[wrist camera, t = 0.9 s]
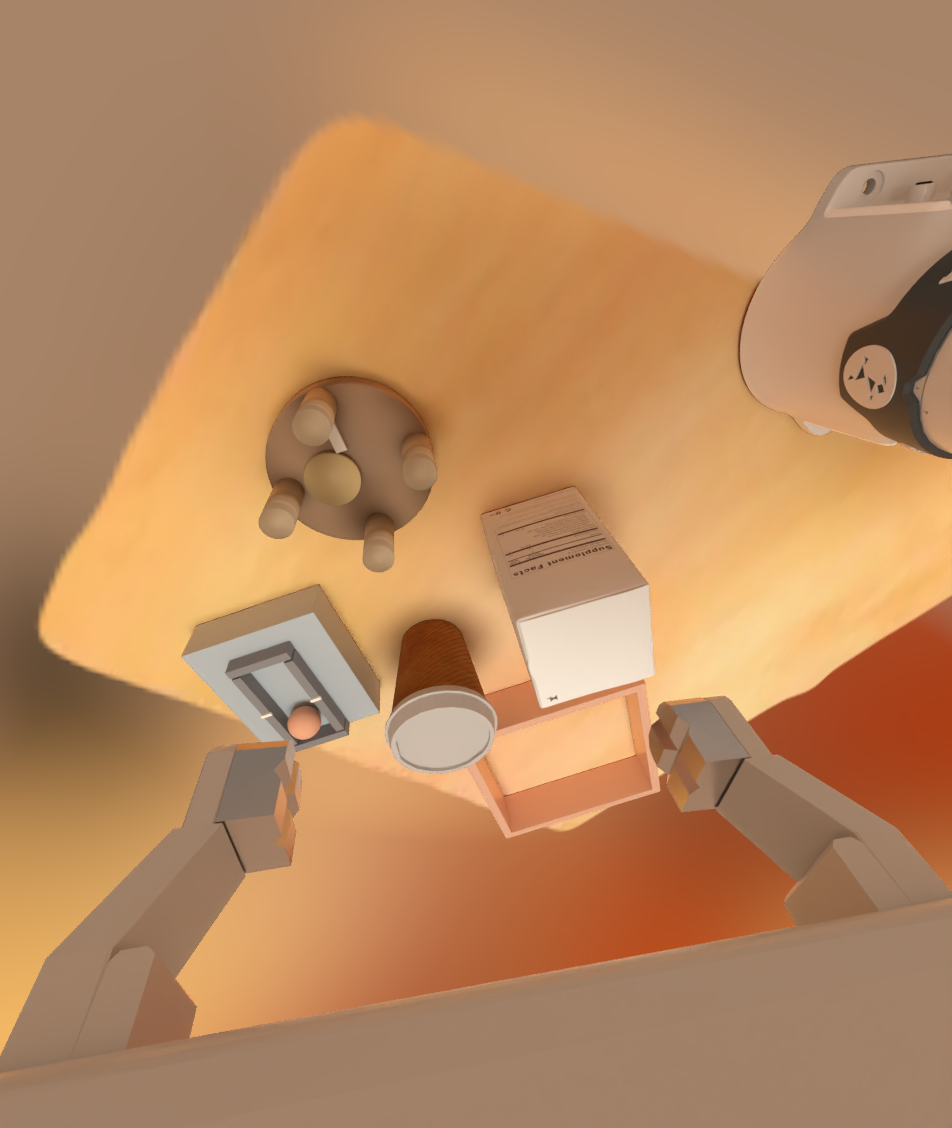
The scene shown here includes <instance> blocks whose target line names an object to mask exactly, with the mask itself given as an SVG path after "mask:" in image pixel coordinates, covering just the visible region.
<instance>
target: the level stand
mask: <svg viewBox="0 0 952 1128" xmlns="http://www.w3.org/2000/svg"><path fill="white" fill-rule="evenodd" d="M181 657H182V658H183V659H184V660H185V661H186V662H187V664H188V665H189V666H190V667H191V668H192V669H193V670H194V671H195V672H196V673H197V674H198V675H199V676H200V677H201V678H202V679H203V681H204V682H205V683H206V684H207V685H208V686H209V687H210V688H211V689H212V690H213V691H214V692H215V693H216V694H217V695H218V696H219V698H220V699H221V700H222V701H223V702H224V703H225V704H226V705H227V706H228V707H229V708H230V709H231V710H232V711H233V712H234V713H235V715H236V716H237V717H238V718H239V719H240V720H241V721H242V722H243V723H244V724H245V725H246V726H247V727H248V728H249V729H250V730H251V731H252V733H253V734H254V735H255V736H256V737H257V738H258V739H259V740H260V741H261V742H271V741H284V740H293V743H294V746H295V752H298V751H301V750H304V749H307V748H310V747H313V746H316V745H319V744H322V743H326V742H329V741H332V740H335V739H338V738H341V737H344V736H347V735H349V724H350V722H353V721H356V720H359V719H362V718H365V717H368V716H371V715H374V714H377V713H380V682H379V680H378V679H377V677H376V675H375V674H374V672H373V671H372V669H371V667H370V666H369V664H368V662H367V661H366V659H365V658H364V656H363V654H362V653H361V651H360V650H359V648H358V646H357V645H356V643H355V642H354V640H353V638H352V637H351V635H350V634H349V632H348V630H347V629H346V627H345V626H344V624H343V622H342V621H341V619H340V618H339V616H338V614H337V613H336V611H335V610H334V608H333V606H332V605H331V603H330V602H329V600H328V598H327V597H326V595H325V594H324V592H323V590H322V589H321V587H320V585H316V586H313V587H310V588H307V589H304V590H301V591H298V592H295V593H292V594H289V595H286V596H283V597H280V598H277V599H274V600H271V601H268V602H265V603H262V604H259V605H257V606H254V607H251V608H248V609H245V610H242V611H239V612H236V613H233V614H230V615H227V616H224V617H221V618H218V619H215V620H212V621H209V622H206V623H203V624H200V625H197V626H196V627H195V630H194V632H193V634H192V636H191V638H190V640H189V642H188V644H187V646H186V648H185V650H184V652H183V654H182V656H181ZM302 706H310V707H313V708H315V709H316V710H317V711H318V712H319V714H320V716H321V726H320V729H319V731H318V732H317V733H316V734H315V735H314V736H313V737H311V738H309V739H305V740H301V739H297V738H295V737H293V736H292V735H291V734H290V732H289V730H288V725H287V723H288V719H289V716H290V715H291V713H292V712H293V711H294V710H295V709H297V708H299V707H302Z"/></svg>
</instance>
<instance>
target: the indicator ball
mask: <svg viewBox="0 0 952 1128" xmlns="http://www.w3.org/2000/svg"><path fill="white" fill-rule="evenodd" d="M287 725H288V730H289V732H290V734H291V735H292V736H293V737H295V738H297V739H301V740H305V739H309V738H311V737H313V736H314V735H315V734H316V733H317V732H318V731H319V729H320V726H321V716H320V714H319V712H318V711H317V710H316V709H315V708H313V707H310V706H302V707H299V708H297V709H295V710H294V711H293V712H292V713H291V715H290V716H289V719H288V723H287Z"/></svg>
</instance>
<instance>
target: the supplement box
mask: <svg viewBox="0 0 952 1128" xmlns="http://www.w3.org/2000/svg"><path fill="white" fill-rule="evenodd" d="M481 521H482V525H483V528H484V532H485V536H486V539H487V543H488V546H489V550H490V554H491V557H492V560H493V564H494V567H495V571H496V574H497V577H498V581H499V584H500V588H501V591H502V594H503V597H504V600H505V603H506V606H507V609H508V612H509V615H510V618H511V621H512V624H513V627H514V630H515V633H516V636H517V640H518V643H519V646H520V649H521V652H522V655H523V658H524V661H525V664H526V667H527V670H528V673H529V676H530V679H531V682H532V685H533V688H534V691H535V694H536V697H537V700H538V703H539V705H540V707H541V708H546V707H549V706H552V705H555V704H558V703H562V702H565V701H568V700H571V699H575V698H578V697H582V696H585V695H588V694H592V693H595V692H599V691H602V690H606V689H610V688H614V687H618V686H621V685H625V684H629V683H633V682H636V681H639V680H642V679H645V678H648V677H651V676H654V675H655V672H654V656H653V640H652V624H651V608H650V594H649V584H648V582H647V581H646V580H645V578H644V577H643V576H642V574H641V573H640V572H639V570H638V569H637V568H636V567H635V565H634V564H633V563H632V561H631V560H630V559H629V557H628V556H627V555H626V554H625V552H624V551H623V550H622V548H621V547H620V546H619V544H618V543H617V542H616V540H615V539H614V538H613V536H612V535H611V534H610V532H609V531H608V530H607V528H606V527H605V526H604V524H603V523H602V522H601V520H600V519H599V518H598V516H597V515H596V514H595V512H594V511H593V510H592V508H591V507H590V506H589V504H588V503H587V502H586V500H585V499H584V498H583V497H582V495H581V494H580V493H579V491H578V490H577V489H576V487H570V488H567V489H564V490H560V491H557V492H554V493H550V494H547V495H544V496H541V497H537V498H534V499H531V500H527V501H524V502H521V503H518V504H514V505H511V506H508V507H505V508H501V509H498V510H495V511H492V512H488V513H485V514H482V515H481Z"/></svg>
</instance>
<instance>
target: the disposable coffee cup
mask: <svg viewBox="0 0 952 1128" xmlns="http://www.w3.org/2000/svg"><path fill="white" fill-rule="evenodd" d="M477 677H478V676H477V674H476V671H475V668H474V666H473V664H472V660H471V658H470V655H469V652H468V650H467V647H466V644H465V642H464V639H463V636H462V633H461V632H460V630H459V629H458V628H457V627H456V626H455V625H453V624H451V623H449V622H446V621H442V620H428V621H424V622H421V623H418V624H416V625H414V626H413V627H411V628H410V629H409V630H408V631H407V632H406V634H405V635H404V637H403V640H402V646H401V653H400V660H399V667H398V673H397V680H396V687H395V694H394V700H393V708H392V713H391V714H390V717H389V719H388V721H387V723H386V727H385V738H386V742H387V744H388V745H389V747H390V748H391V751H392V753H393V755H394V758H395V759H396V760H397V761H398V762H399V763H400V764H401V765H403V766H405V767H406V768H408V769H410V770H413V771H417V772H421V773H428V774H441V773H449V772H454V771H457V770H460V769H463V768H466V767H468V766H470V765H472V764H474V763H476V762H477V761H479V760H480V759H481V758H482V757H484V756H485V755H486V753H487V752H488V751H489V750H490V748H491V746H492V744H493V741H494V736H495V732H496V729H497V724H498V722H497V715H496V712H495V710H494V709H493V707H492V705H491V704H490V703H489V702H488V700H487V699H486V698H485V695H484V693H483V690H482V687H481V684H480V682H479V679H478V678H477Z"/></svg>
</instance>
